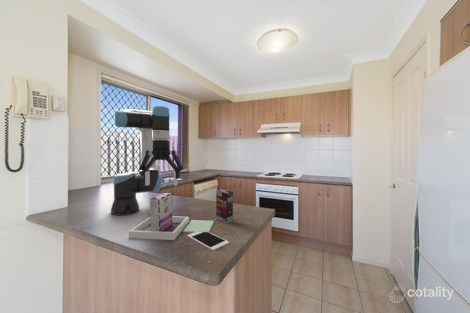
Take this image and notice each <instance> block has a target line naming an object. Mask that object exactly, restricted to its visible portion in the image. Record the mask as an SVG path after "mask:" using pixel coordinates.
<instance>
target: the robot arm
mask: <svg viewBox="0 0 470 313" xmlns="http://www.w3.org/2000/svg"><path fill="white" fill-rule="evenodd" d="M170 115H171V114H170V108H169V107H168V106H164V105H153V106H152V109H151V110H144V109H131V108H129V109H122V110H115V111H114V126H115V127H117V128H123V129H125V128H128V129H129V128H130V129H137V132H139V133H140V155H141V156H140V158H141V164H140V166H139V168H138V169H139V171H138V174H137V173H136V172H135V171H131V172H130V171H129V172H123V173H119V174H116V175H115V176H114V177H113V201H112V205H111V207H110V214H111V215H113V216H124V215H125V216H126V215H131V214H135V213H137V212H138V211H139V210H140V204H139V202H138V199H137V194H141V193H150V192H151V193H152V192H158V191H160V189H161V186H162V181H163V179H162V178H163V177H162V176H163V175H162V173H161V172H159V170H160V169H158V168H157V163H156V162H157V161H166V162H167V163H168V164H169V165H170V167H172V169H173V170H174V171H173V186H174V187H177V186H178V180H179V179H180V171H183V170H184V167H183V164H182V163H181V161H180V158H179V157H178V153H177V150H175V149H174V150H170V147H171V146H170V145H171V143H170V138H171V136H170ZM170 155H171V156H172V157H173V159H172V158H171V156H170ZM173 160H174V161H173Z"/></svg>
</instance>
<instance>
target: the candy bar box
mask: <svg viewBox="0 0 470 313" xmlns="http://www.w3.org/2000/svg"><path fill="white" fill-rule="evenodd" d="M149 206H150V207H149V209H150V210H149V212H150V213H149V214H150V215H149V217H150V219H151V224H150V231H160V232H166V231H167V230H168V229H170V228H171V227H172V226H173V223H172V216H173V196H172V193H171V192H162V193H160V194H158V195H155V196H153V197H150V198H149Z"/></svg>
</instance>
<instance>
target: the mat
mask: <svg viewBox="0 0 470 313" xmlns="http://www.w3.org/2000/svg"><path fill="white" fill-rule="evenodd" d="M214 224H215V220H199V219H198V220H197V219H191V220H190V221H189V223H188V224H187V225H186V227H185V228H184V229H183V230H182V232H183V233H189V234H191V233H194V232H210V231H211V229H212V227H213V225H214ZM210 233H211V232H210Z"/></svg>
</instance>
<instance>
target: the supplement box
mask: <svg viewBox="0 0 470 313" xmlns="http://www.w3.org/2000/svg"><path fill="white" fill-rule="evenodd" d="M215 192H216V194H215V196H216V200H215V201H216V205H215V207H216V210H215V212H216V213H215V214H216V216H215V217H216V218H215V219H216V220H218V221H220V222H223V223H226V224H228V223H231V222H233V219H234V215H233V213H234V210H233V209H234V192H233V191H230V190H226V189H219V190H218V189H217V190H216V191H215Z"/></svg>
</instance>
